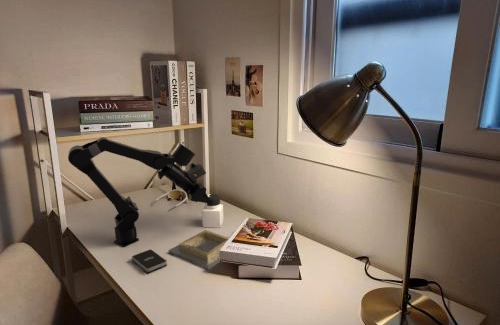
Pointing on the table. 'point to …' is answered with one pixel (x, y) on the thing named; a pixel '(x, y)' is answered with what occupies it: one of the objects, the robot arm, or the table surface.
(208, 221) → the medicine bottle
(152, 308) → the table surface
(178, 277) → the table surface
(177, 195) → the sunglasses
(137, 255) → the external hard drive
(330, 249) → the table surface
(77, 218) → the table surface
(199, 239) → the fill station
